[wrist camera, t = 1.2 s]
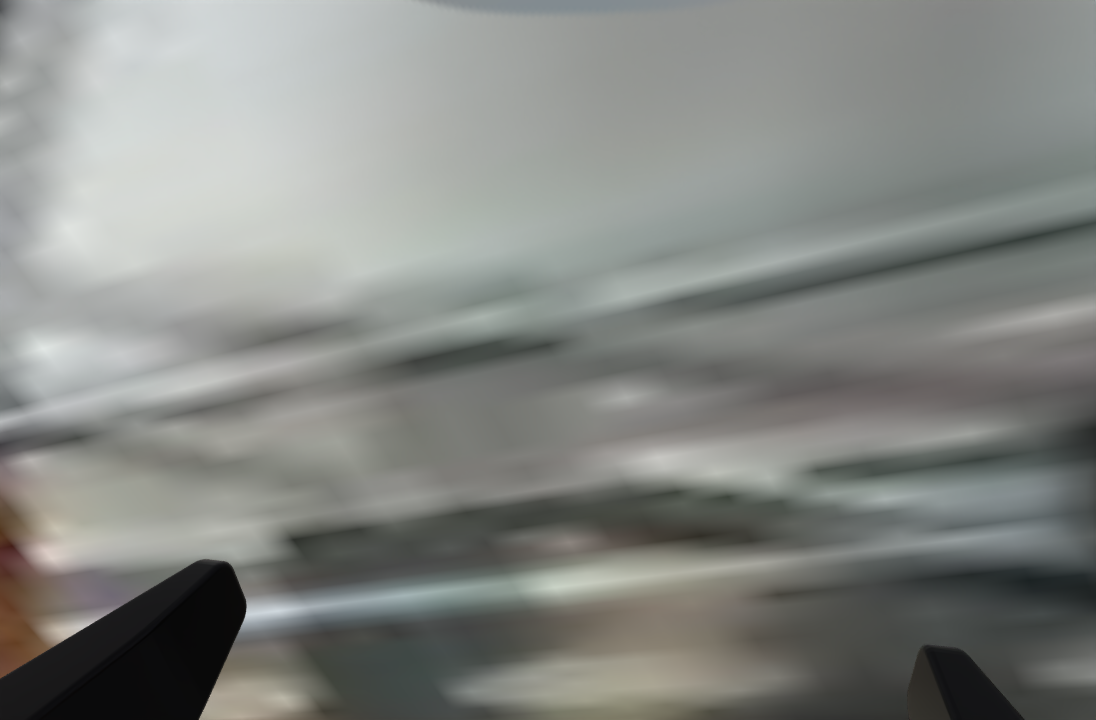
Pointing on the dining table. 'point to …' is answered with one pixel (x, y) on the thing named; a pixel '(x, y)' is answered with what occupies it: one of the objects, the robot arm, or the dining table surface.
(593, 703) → the dining table surface
